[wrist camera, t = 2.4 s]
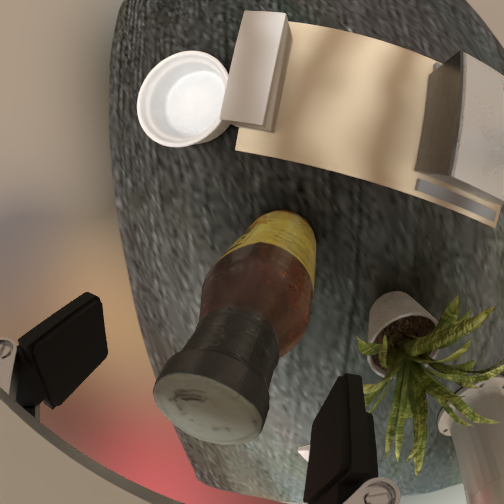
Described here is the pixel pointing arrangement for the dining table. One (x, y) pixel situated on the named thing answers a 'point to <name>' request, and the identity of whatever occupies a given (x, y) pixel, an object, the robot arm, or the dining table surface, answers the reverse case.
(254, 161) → the dining table surface
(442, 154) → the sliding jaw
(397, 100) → the clamp base
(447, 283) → the dining table surface
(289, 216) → the sauce bottle
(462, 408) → the house plant
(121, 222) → the dining table surface
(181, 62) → the ramekin
